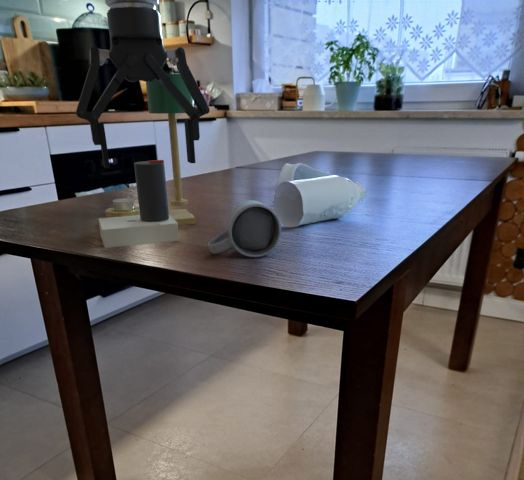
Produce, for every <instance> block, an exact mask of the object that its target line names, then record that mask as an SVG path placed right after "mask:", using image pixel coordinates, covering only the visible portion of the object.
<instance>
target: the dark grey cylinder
mask: <svg viewBox="0 0 524 480" xmlns="http://www.w3.org/2000/svg"><path fill="white" fill-rule="evenodd" d="M133 168H134V176H135V185H136V186H135V187H136V194H137V202H138V207H139V211H140V220H141V221H145V222H159V221H165V220H168V219H169V200H168V190H167V189H168V188H167V181H166V180H167V179H166V178H167V177H166V170H165V169H166V167H165V160H164V159H154V160H153V159H151V160H145V161H143V160H142V161H136V162H133Z"/></svg>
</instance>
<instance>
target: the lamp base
mask: <svg viewBox="0 0 524 480" xmlns="http://www.w3.org/2000/svg"><path fill="white" fill-rule="evenodd" d="M133 207H134V210H131V211H123V212H117V211H114V208H113V206H112V207H109V208H106V209H105V218H110V217H123V216H135V215H140V211H139V206H137V205H133ZM168 210H169V209H168ZM169 215H170V216H171V217H172V218H173V216H181V217H177V218H173V219H174V220H175V221H176V222H177V223H178V226H186V225H187V226H188V225H189V226H190V225H196V223H197V222H196V217H195V216H194V215H193V214H192V213H191V212H190V211H189V210H187V209H186V208H181V209H180V208H179V209H170V210H169Z"/></svg>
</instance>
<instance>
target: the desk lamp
mask: <svg viewBox="0 0 524 480" xmlns="http://www.w3.org/2000/svg"><path fill="white" fill-rule="evenodd" d="M166 74H167V75H168V76H169V78H170V79H171V81H172V82H173V83H174V84H175V85H176V86H177V88H178V89H179V90H180V91H181V92H182V94H183V95H184V96H185V97H186V98H187V100H188V101H189V102H190V103H191V104H192V106H193V107H194V108H195V102H194V100H193V98H192V97H191V95H190V93H189V91H188V89H187V87H186V85H185V83H184V81H183V79H182V77H181V75H180V73H166ZM145 87H146V89H145V90H146V97H147V98H146V99H147V108H148V113H149V114H155V115H156V114H157V115H158V114H159V115H160V114H167V120H168V132H169V144H170V154H171V155H170V156H171V167H172V178H173V179H172V180H173V189H174V191H173V192H174V199H173V198H172V199H170V206H173V207H183V206H187V205H188V204H189V203H188V202H189V201H188V199H186V198H183V189H182V176H181V175H182V173H181V162H180V161H181V160H180V149H179V148H180V147H179V137H178V135H179V134H178V126H177V125H178V124H177V114H186V113H185V112H184V110H183V109H182V108H181V107H180V106H179V105H178V103H177V102H176V101H175V100H174V99H173V97H172V96H171V95H170V94H169V93H168V92H167V90H166V89H165V88H164V87H163V86H162V85H161V84H160V83H159V82H158V81H157V80H156V79H155V80H153V81H151V82H145Z"/></svg>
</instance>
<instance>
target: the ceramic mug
mask: <svg viewBox="0 0 524 480" xmlns="http://www.w3.org/2000/svg"><path fill="white" fill-rule="evenodd" d="M281 236H282V223H281V222H280V220H279V218H278V216H277V214H276V213H275V211H274V209H272V208H271V207H269V206H268V205H266V204H264V203H263V202H261V201H258V200H254V199H248V200H243V201H241V202H239V203H238V204H236V205H235V206H234V207H233V208H232V209H231V211H230V213H229V215H228V217H227V230H224V231H223V232H221V233H219V234H217V235H216V236H214V237H213V238H211V239H210V240H209V241H208V243H207V248H208V249H209V251H210V253H211V254H213V255H217V254H221V253H224V252H226V251H228V250H230V249H232V248H234V250H236V251H237V252H238V253H239V254H240V255H242V256H244V257H247V258H262V257H264V256H267V255H270V253H272V252H273V251H274V250H275V248H276V247H277V246H278V244H279V242H280V239H281Z"/></svg>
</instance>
